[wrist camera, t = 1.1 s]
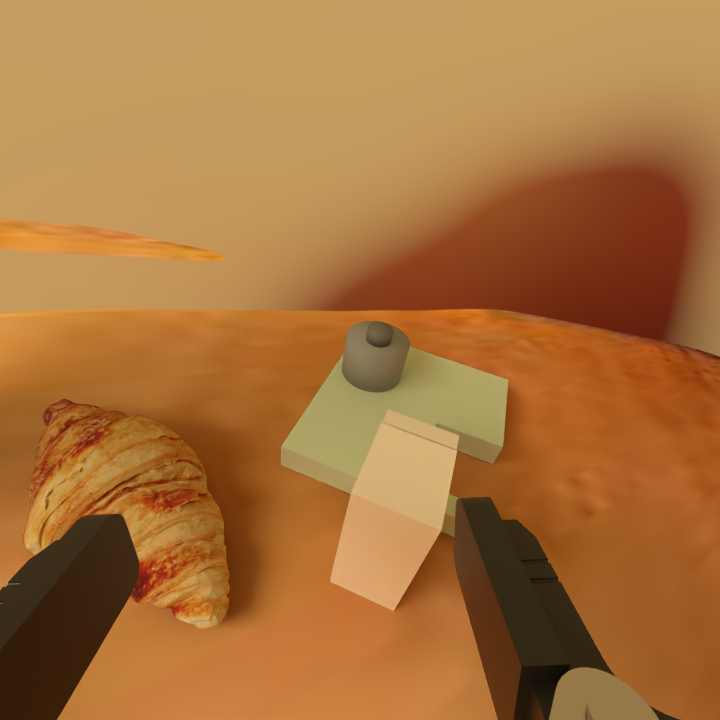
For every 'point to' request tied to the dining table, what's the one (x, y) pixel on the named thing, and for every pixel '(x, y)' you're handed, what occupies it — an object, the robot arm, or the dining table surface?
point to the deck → (393, 407)
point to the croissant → (134, 504)
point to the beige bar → (395, 509)
